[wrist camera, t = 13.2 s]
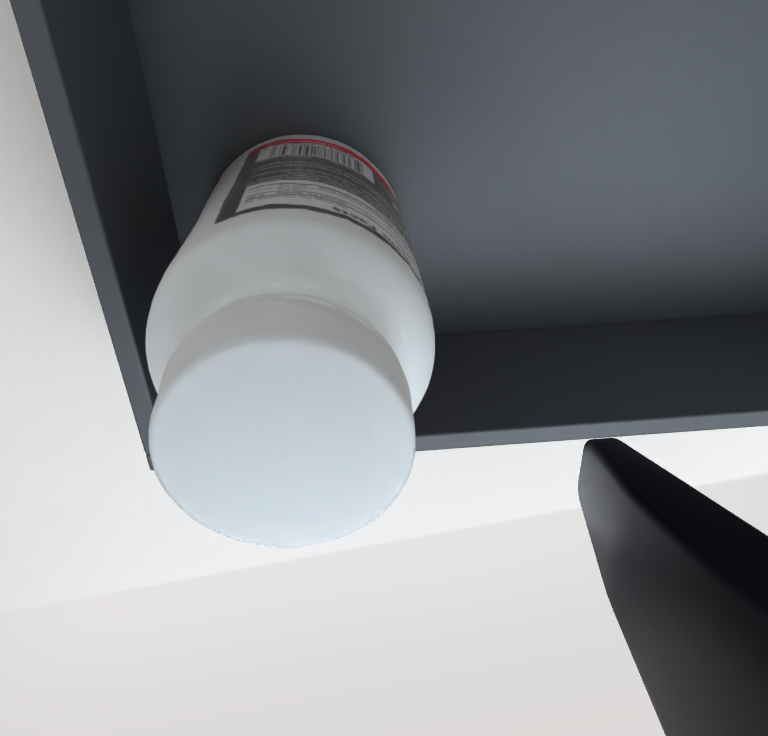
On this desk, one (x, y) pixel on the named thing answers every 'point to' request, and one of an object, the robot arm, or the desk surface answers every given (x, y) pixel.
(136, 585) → the desk surface
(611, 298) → the bin
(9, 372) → the desk surface
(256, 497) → the pill bottle
